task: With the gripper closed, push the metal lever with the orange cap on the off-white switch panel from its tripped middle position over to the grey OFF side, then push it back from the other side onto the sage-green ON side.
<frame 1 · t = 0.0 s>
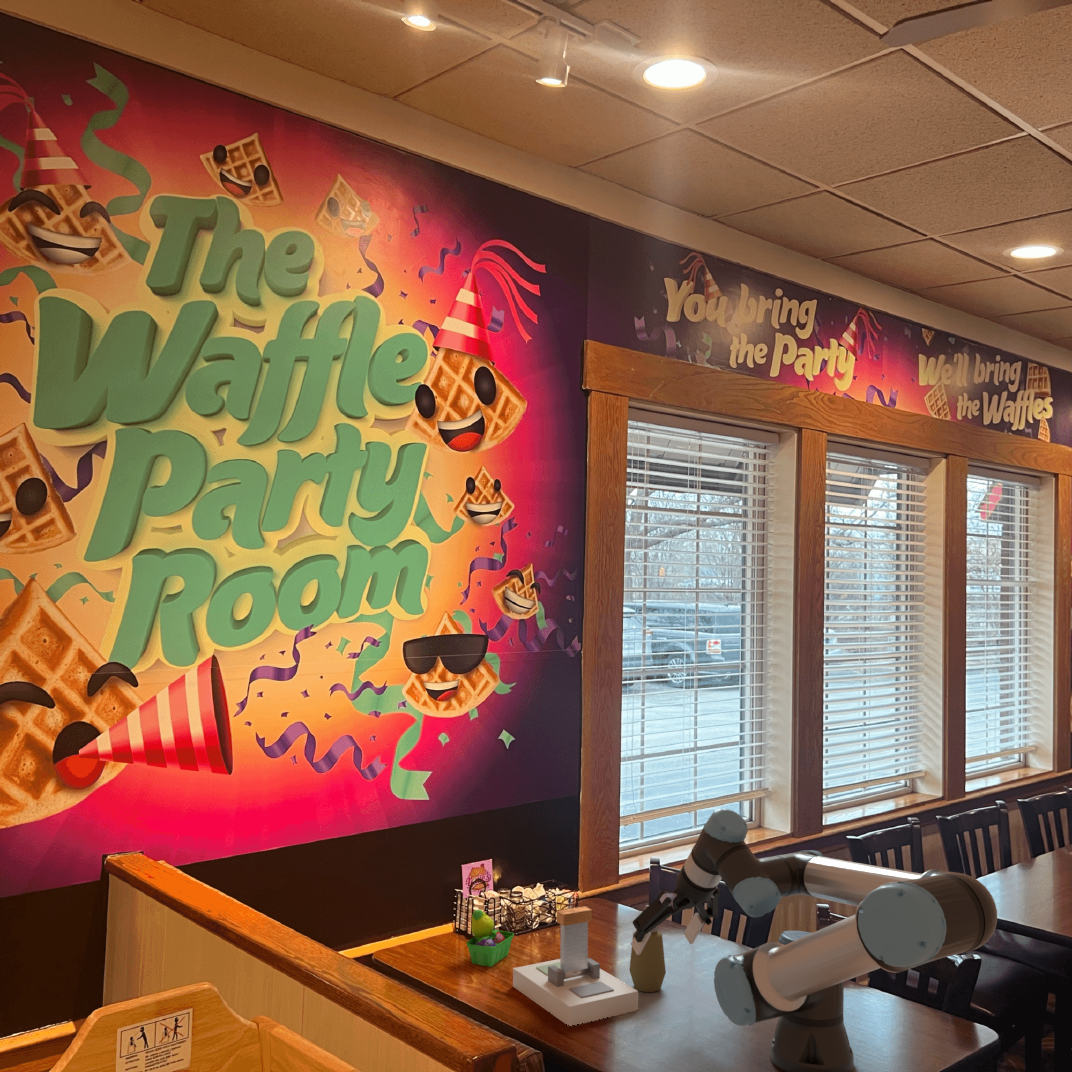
hand: (662, 943, 211), 15 cm above the table, tool tilted 35°, fingers open, 13 cm apart
squeeze bottle: (647, 988, 227), on the table
switch panel: (573, 998, 221), on the table
fruit basket: (488, 959, 244), on the table
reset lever: (574, 943, 222), point 12 cm above the table, hinge at 0.0°
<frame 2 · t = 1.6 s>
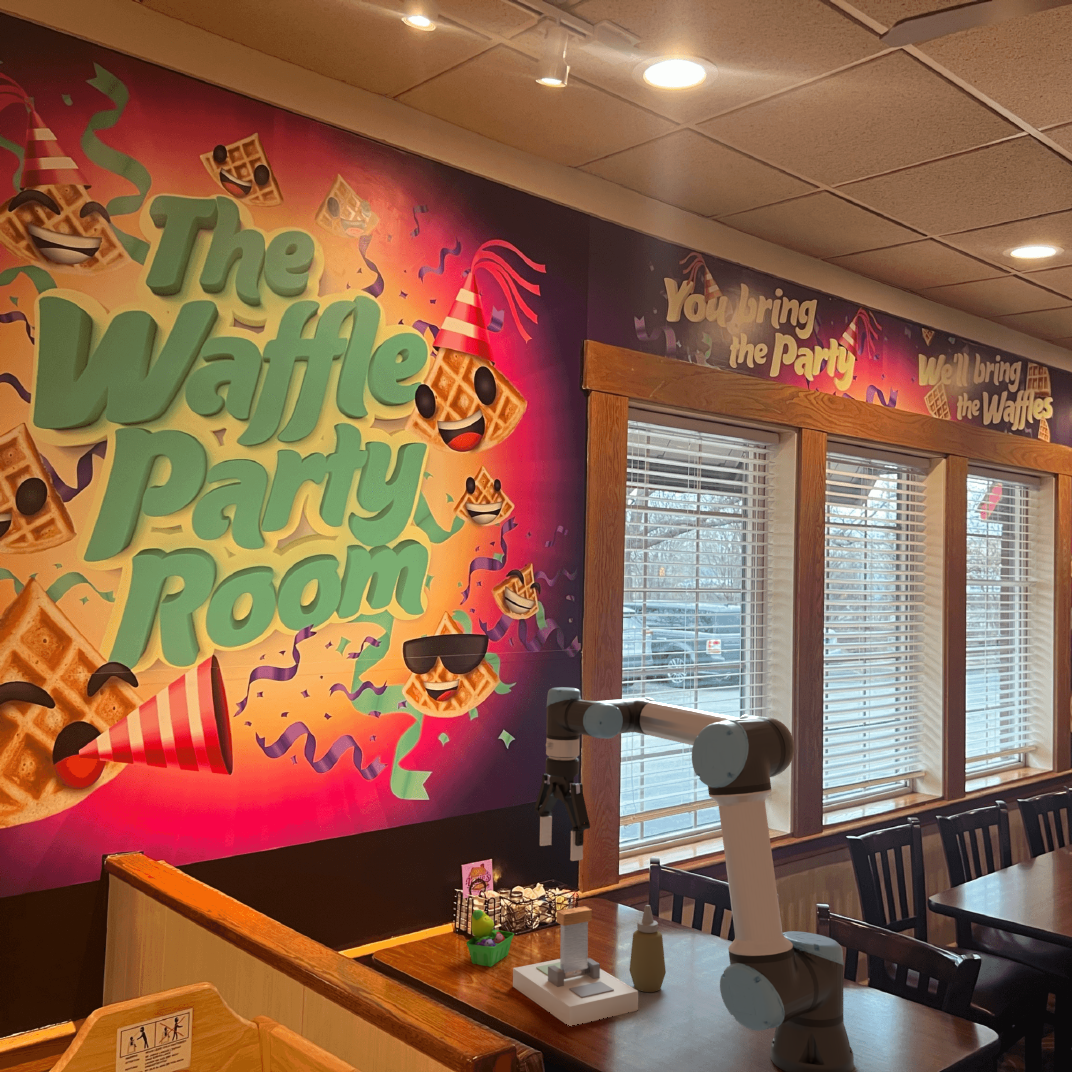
hand: (560, 852, 228), 30 cm above the table, tool pointing down, fingers open, 13 cm apart
nothing on the table moved.
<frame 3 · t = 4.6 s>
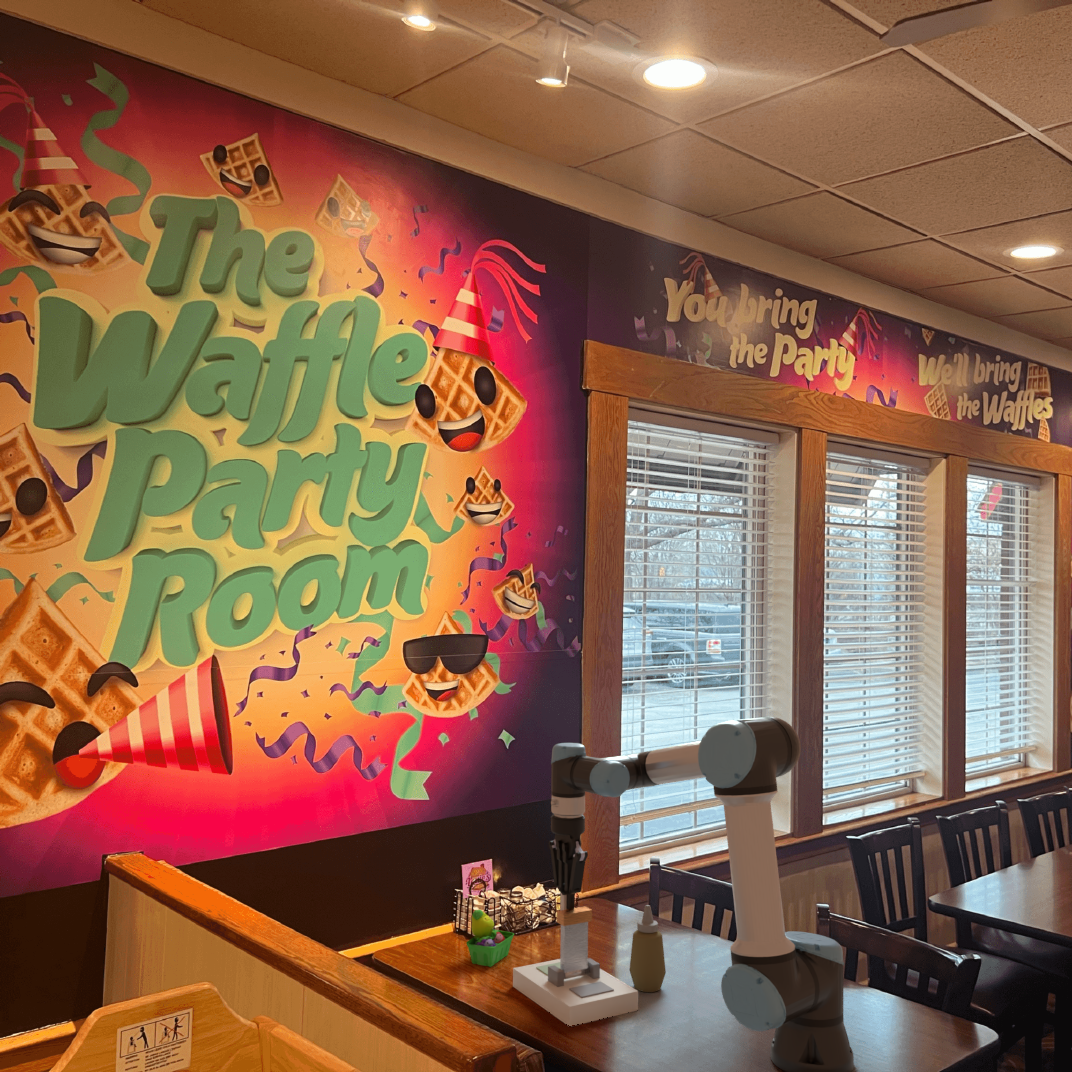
hand: (567, 922, 224), 15 cm above the table, tool pointing down, fingers closed
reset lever: (574, 943, 222), point 12 cm above the table, hinge at -0.4°, touching gripper
everything else where it was.
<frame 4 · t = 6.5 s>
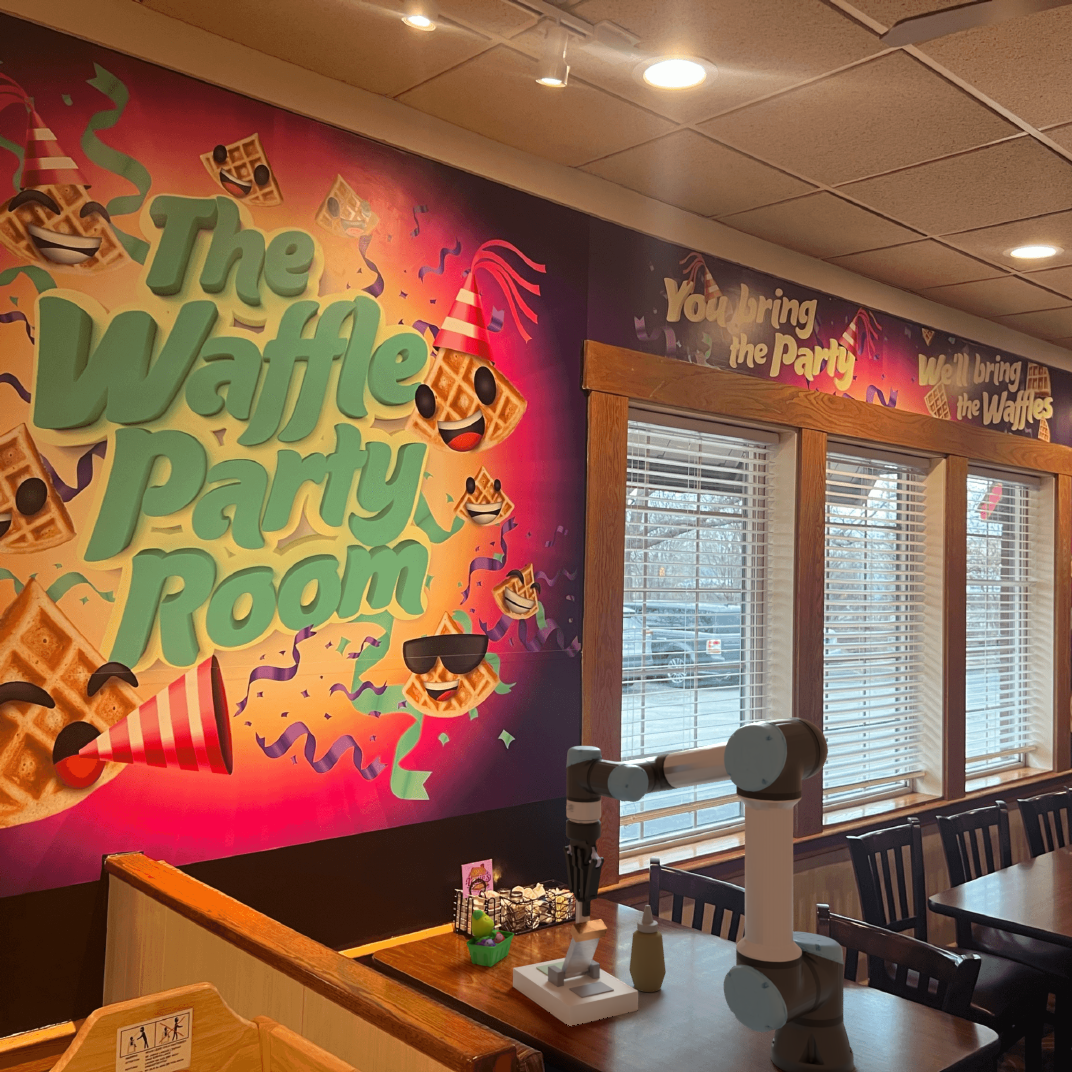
hand: (582, 930, 219), 15 cm above the table, tool pointing down, fingers closed
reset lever: (581, 951, 219), point 11 cm above the table, hinge at -28.6°, touching gripper
everything else where it was.
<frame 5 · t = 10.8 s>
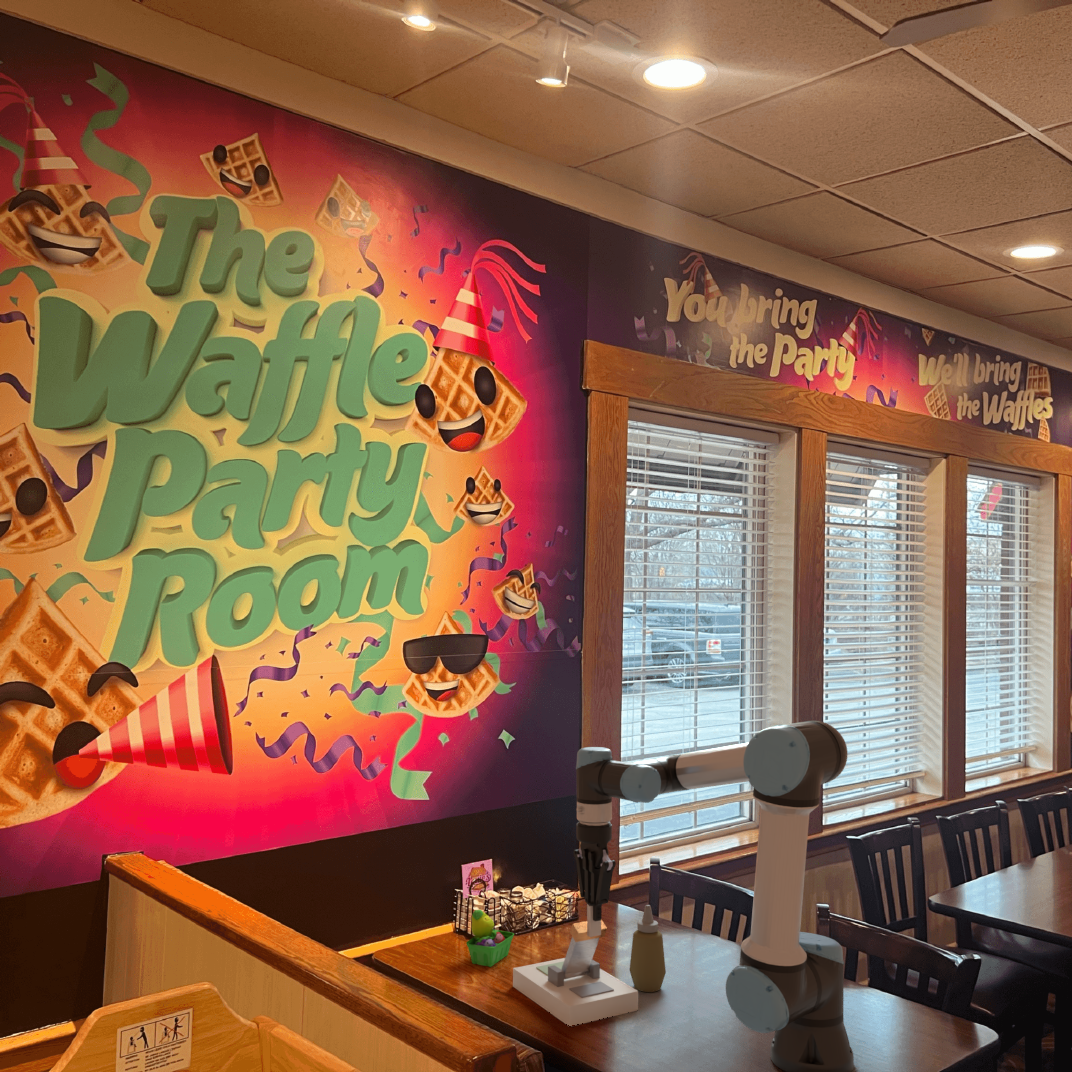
hand: (594, 935, 215), 16 cm above the table, tool pointing down, fingers closed
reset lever: (581, 951, 219), point 11 cm above the table, hinge at -28.1°, touching gripper
everything else where it was.
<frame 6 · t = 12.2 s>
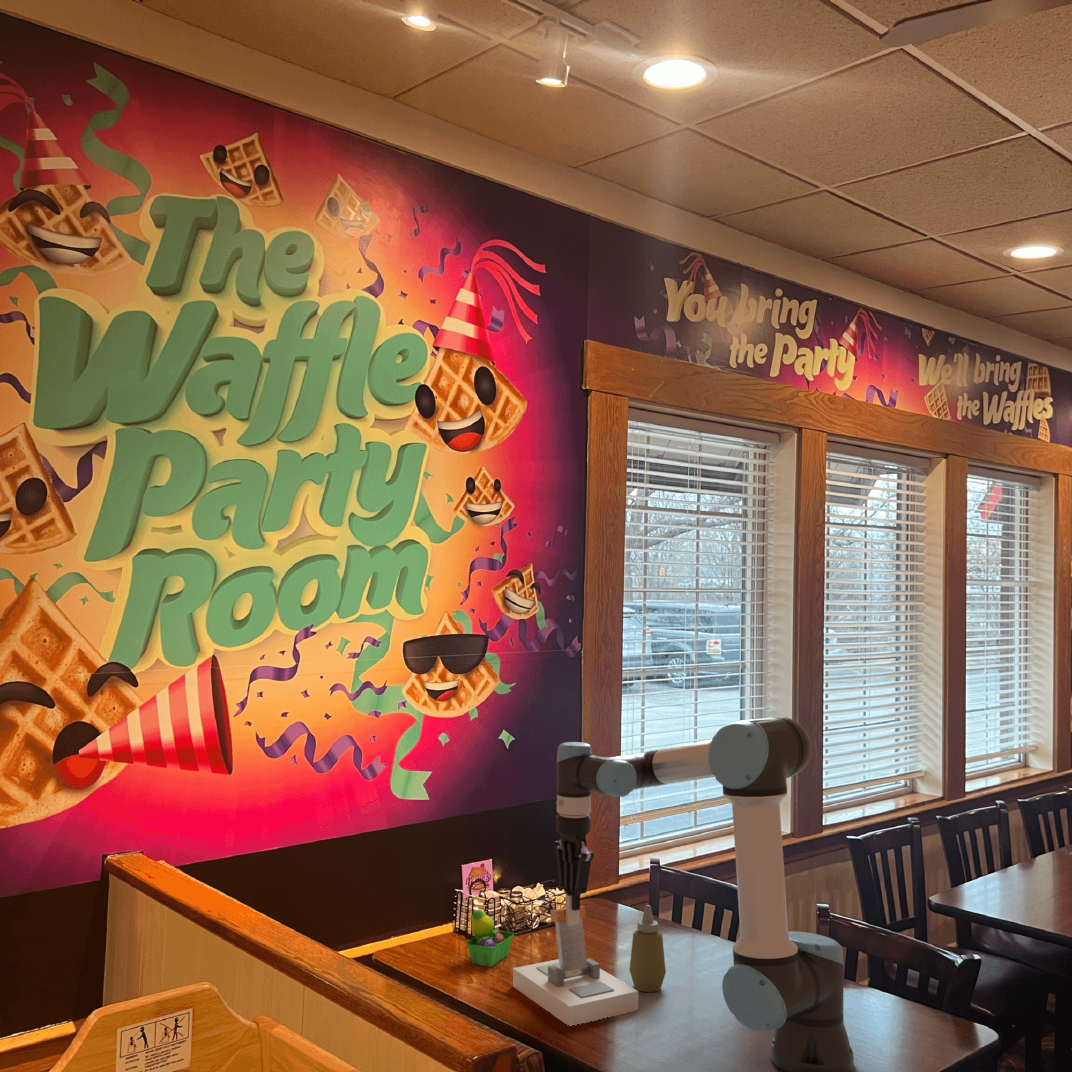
hand: (572, 923, 222), 16 cm above the table, tool pointing down, fingers closed
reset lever: (570, 942, 223), point 11 cm above the table, hinge at 12.6°, touching gripper
everything else where it was.
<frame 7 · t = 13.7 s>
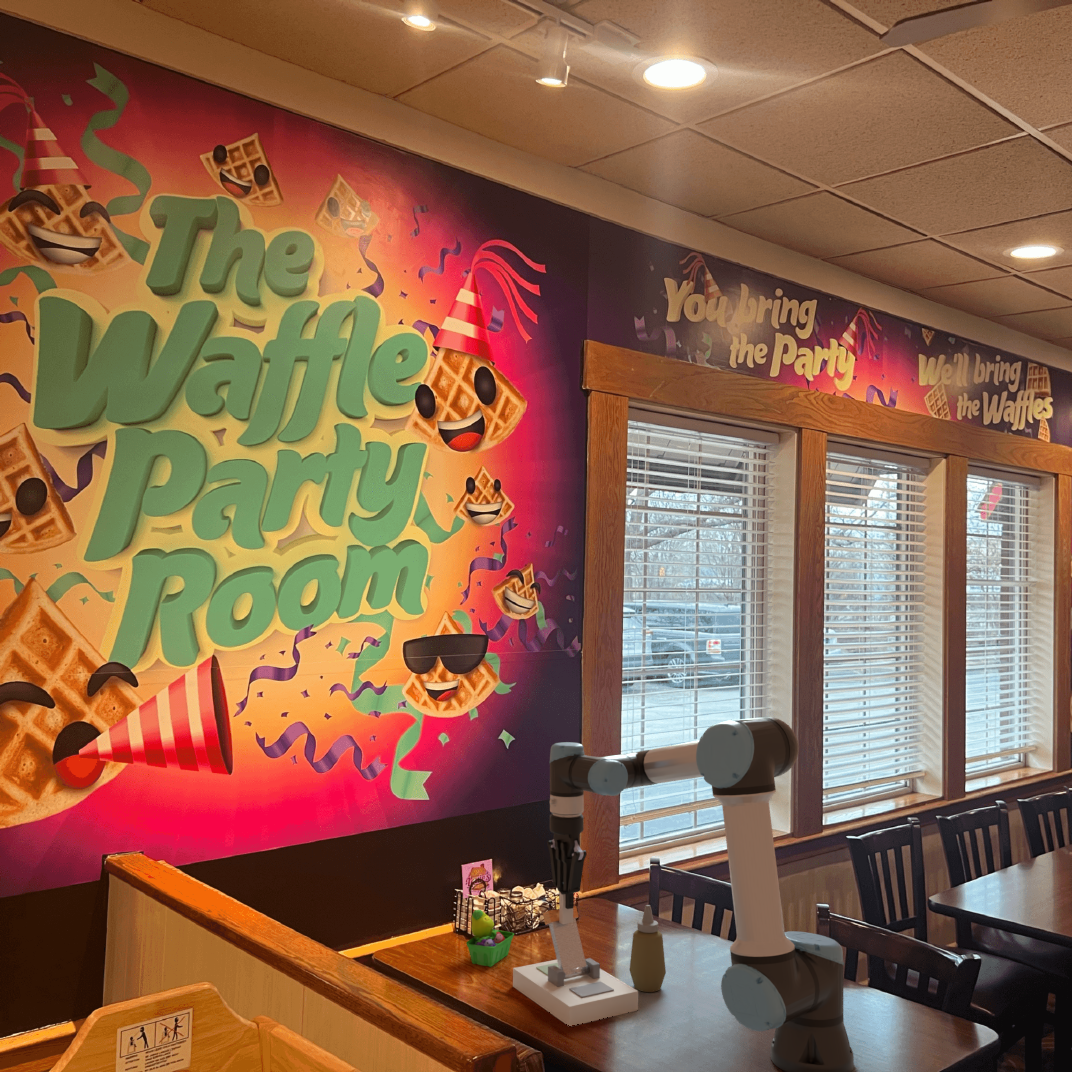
hand: (566, 922, 224), 15 cm above the table, tool pointing down, fingers closed
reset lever: (567, 942, 224), point 11 cm above the table, hinge at 28.3°, touching gripper
everything else where it was.
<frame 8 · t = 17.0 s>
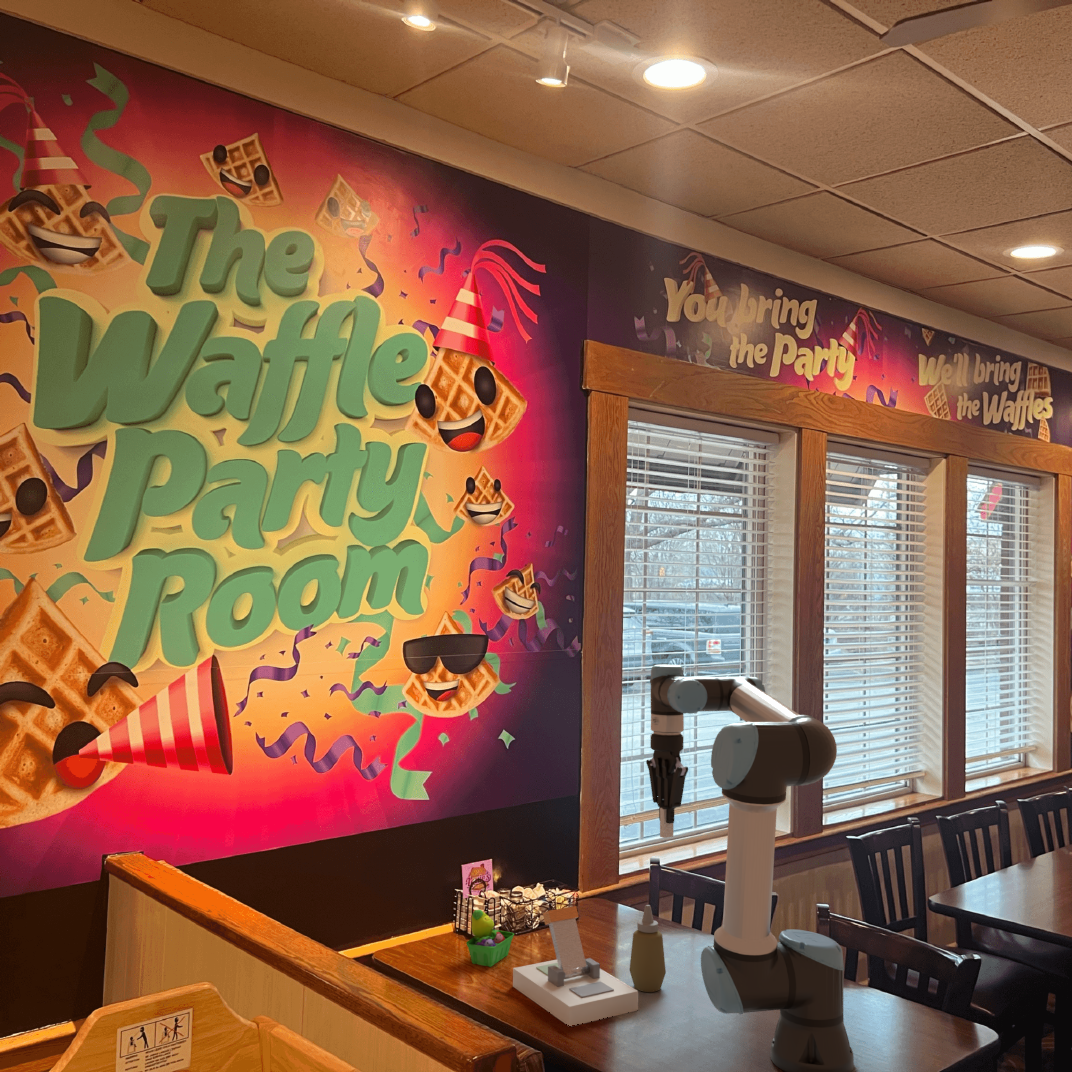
hand: (666, 836, 233), 32 cm above the table, tool pointing down, fingers closed
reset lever: (567, 942, 224), point 11 cm above the table, hinge at 28.3°
everything else where it was.
at the end: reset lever at +28° (first picture: +0°); squeeze bottle moved 0.2 cm from its start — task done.
